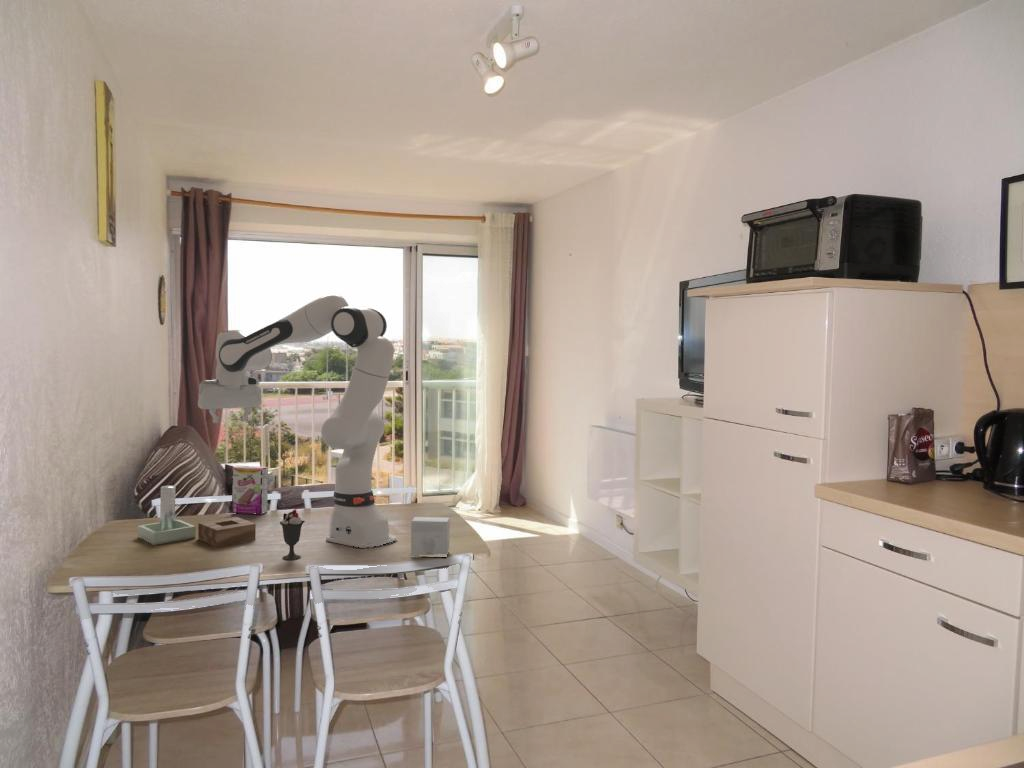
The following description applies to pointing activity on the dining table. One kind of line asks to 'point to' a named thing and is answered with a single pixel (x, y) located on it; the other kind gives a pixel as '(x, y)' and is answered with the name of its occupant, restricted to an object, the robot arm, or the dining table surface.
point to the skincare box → (429, 535)
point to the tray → (166, 532)
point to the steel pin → (167, 508)
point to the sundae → (291, 532)
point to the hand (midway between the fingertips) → (230, 421)
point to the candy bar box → (249, 489)
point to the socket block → (226, 531)
